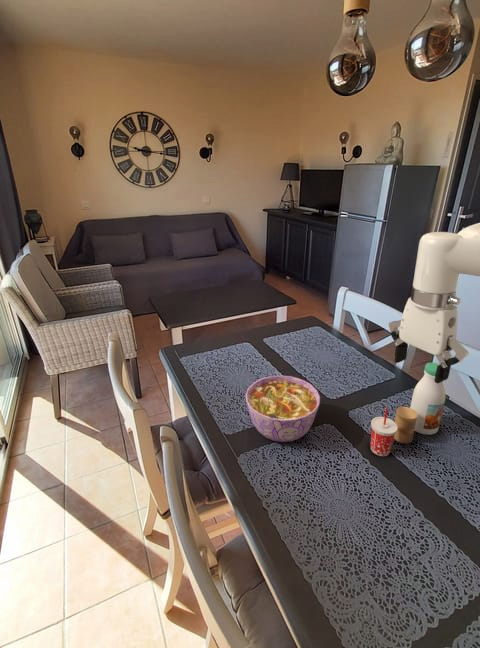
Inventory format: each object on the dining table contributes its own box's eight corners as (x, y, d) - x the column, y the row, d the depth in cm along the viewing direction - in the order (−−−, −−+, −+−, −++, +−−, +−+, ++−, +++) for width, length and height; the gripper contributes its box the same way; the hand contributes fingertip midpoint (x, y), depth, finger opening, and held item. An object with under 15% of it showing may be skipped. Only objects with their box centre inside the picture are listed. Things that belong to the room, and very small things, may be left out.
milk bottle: (409, 435, 98) (422, 373, 90) (404, 417, 105) (416, 357, 97) (440, 439, 96) (456, 376, 88) (433, 420, 103) (447, 360, 95)
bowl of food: (292, 469, 89) (293, 432, 84) (231, 433, 101) (230, 399, 96) (330, 426, 102) (333, 392, 98) (273, 399, 115) (274, 367, 110)
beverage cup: (397, 456, 91) (406, 411, 86) (379, 465, 89) (387, 419, 83) (379, 441, 96) (386, 397, 91) (362, 448, 94) (368, 405, 89)
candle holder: (410, 431, 99) (415, 405, 96) (418, 449, 93) (424, 421, 90) (386, 430, 100) (390, 404, 96) (392, 447, 94) (397, 420, 90)
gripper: (488, 305, 66) (469, 383, 73) (406, 282, 80) (397, 349, 87) (464, 314, 63) (446, 396, 70) (383, 288, 77) (375, 358, 83)
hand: (419, 370), depth 78 cm, fingers open, 9 cm apart
